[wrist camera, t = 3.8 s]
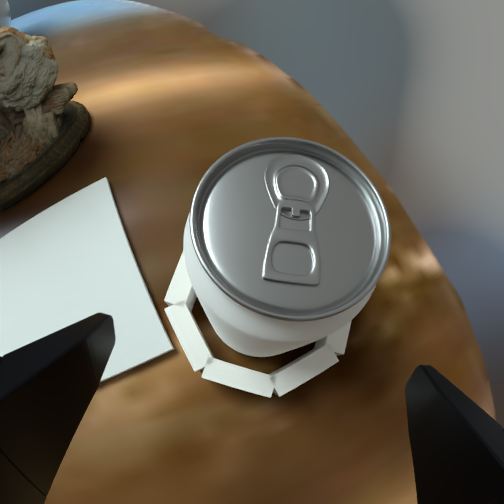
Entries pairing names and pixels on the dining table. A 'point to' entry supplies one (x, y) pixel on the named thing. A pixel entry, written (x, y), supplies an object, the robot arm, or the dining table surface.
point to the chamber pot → (4, 14)
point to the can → (284, 244)
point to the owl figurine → (34, 116)
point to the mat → (77, 279)
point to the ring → (232, 375)
